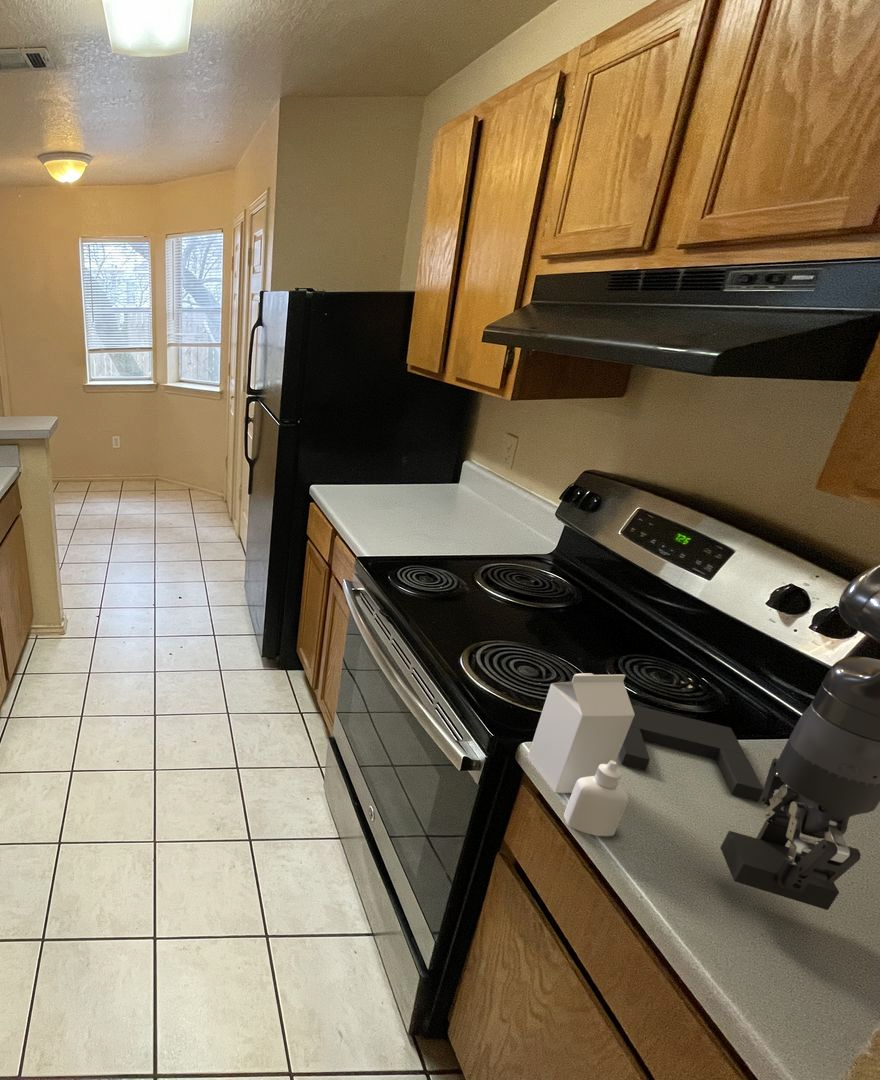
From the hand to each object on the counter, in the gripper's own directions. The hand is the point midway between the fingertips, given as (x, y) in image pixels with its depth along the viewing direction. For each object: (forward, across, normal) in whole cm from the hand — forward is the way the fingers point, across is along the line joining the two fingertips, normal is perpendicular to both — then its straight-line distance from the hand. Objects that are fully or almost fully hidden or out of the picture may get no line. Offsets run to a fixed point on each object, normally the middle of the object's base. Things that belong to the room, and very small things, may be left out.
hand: (777, 865), depth 68 cm
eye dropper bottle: (+7, +4, +16) cm, 18 cm away
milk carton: (+7, +13, +18) cm, 24 cm away
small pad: (+2, 0, 0) cm, 2 cm away
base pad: (+7, +26, +2) cm, 27 cm away
